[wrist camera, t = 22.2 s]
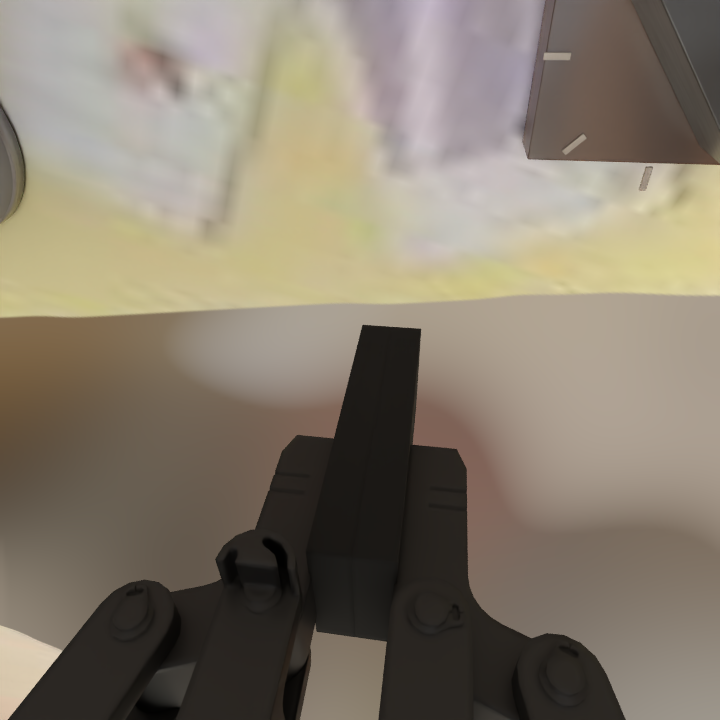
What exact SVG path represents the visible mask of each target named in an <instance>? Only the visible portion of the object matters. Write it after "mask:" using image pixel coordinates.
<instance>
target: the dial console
mask: <svg viewBox="0 0 720 720" xmlns="http://www.w3.org/2000/svg"><path fill="white" fill-rule="evenodd" d="M523 145H524V148H525V152H526V155H527V158H528V159H539V160H573V161H606V162H640V163H674V164H707V165H720V163H719V162H717V161H716V160H715V159H714V158H713V157H712V156H711V155H709V154H708V153H707V152H706V151H705V150H704V149H702V148H701V147H700V145H699V143H698V141H697V139H696V137H695V135H694V133H693V130H692V128H691V126H690V124H689V122H688V120H687V118H686V116H685V113H684V111H683V109H682V107H681V105H680V103H679V101H678V99H677V96H676V94H675V92H674V90H673V88H672V86H671V84H670V82H669V79H668V77H667V75H666V73H665V71H664V69H663V67H662V65H661V62H660V60H659V58H658V56H657V54H656V52H655V50H654V48H653V45H652V43H651V41H650V39H649V37H648V35H647V33H646V31H645V28H644V26H643V24H642V22H641V20H640V18H639V16H638V14H637V11H636V9H635V7H634V5H633V3H632V1H631V0H546V1H545V7H544V13H543V19H542V25H541V31H540V38H539V44H538V50H537V56H536V62H535V68H534V74H533V80H532V87H531V93H530V99H529V105H528V111H527V117H526V123H525V129H524V135H523ZM652 169H653V167H646V168H645V171H644V174H643V178H642V181H641V184H640V187H639V191H646V188H647V185H648V182H649V178H650V175H651V172H652Z"/></svg>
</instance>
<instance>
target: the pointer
mask: <svg viewBox="0 0 720 720" xmlns="http://www.w3.org/2000/svg"><path fill="white" fill-rule="evenodd" d="M631 1H632V3H633V5H634V7H635V9H636V11H637V14H638V16H639V18H640V20H641V22H642V24H643V26H644V28H645V31H646V33H647V35H648V37H649V39H650V41H651V43H652V45H653V48H654V50H655V52H656V54H657V56H658V58H659V60H660V62H661V65H662V67H663V69H664V71H665V73H666V75H667V77H668V79H669V82H670V84H671V86H672V88H673V90H674V92H675V94H676V96H677V99H678V101H679V103H680V105H681V107H682V109H683V111H684V113H685V116H686V118H687V120H688V122H689V124H690V126H691V128H692V130H693V133H694V135H695V137H696V139H697V141H698V143H699V145H700V147H701V148H702V149H704V150H705V151H706V152H707V153H708V154H709V155H711V156H712V157H713V158H714V159H715V160H716V161H717V162H719V163H720V0H631Z"/></svg>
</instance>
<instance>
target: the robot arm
mask: <svg viewBox="0 0 720 720" xmlns="http://www.w3.org/2000/svg"><path fill="white" fill-rule="evenodd" d="M24 179H25V175H24V165H23V159H22V155H21V151H20V147H19V144H18V142H17V139H16V136H15V134H14V131H13V129H12V127H11V125H10V123H9V121H8V119H7V117H6V115H5V114H4V112H3V110H2V109H1V107H0V224H1V223H2V222H4V221H5V220H7V219H8V218H9V217H10V216H11V215H12V214H13V213H14V212H15V210H16V209H17V207H18V205H19V203H20V201H21V198H22V195H23V190H24ZM420 337H421V329H414V328H400V327H386V326H371V325H363V326H362V330H361V333H360V338H359V342H358V345H357V350H356V353H355V357H354V362H353V365H352V369H351V373H350V377H349V382H348V385H347V389H346V393H345V397H344V401H343V405H342V409H341V413H340V417H339V421H338V425H337V429H336V433H335V437H334V439H333V438H321V437H312V436H302V435H297V436H296V437H295V438H294V439H293V440H292V441H291V442H290V443H289V444H288V446H287V447H286V448H285V449H284V450H283V451H282V453H281V456H280V459H279V462H278V465H277V468H276V470H275V475H274V476H273V479H272V482H271V485H270V490H269V491H268V494H267V496H266V499H265V502H264V505H263V508H262V511H261V514H260V517H259V520H258V522H257V526H256V528H255V530H249V531H247V532H244V533H242V534H239V535H237V536H235V537H234V538H233V539H232V540H230V541H229V542H228V543H226V544H225V545H224V546H223V548H222V549H221V551H220V552H219V554H218V556H217V557H216V559H215V560H216V563H217V566H218V569H219V572H220V576H221V578H222V579H220V580H218V581H217V582H214V583H212V584H208V585H204V586H200V587H195V588H189V589H184V590H179V591H174V592H170V591H169V590H168V589H167V588H165V587H164V586H163V585H162V584H160V583H159V582H155V581H149V580H141V581H136V582H131V583H128V584H126V585H124V586H123V587H121V588H119V589H117V590H115V591H114V592H113V593H111V594H110V595H109V596H108V597H107V598H106V599H105V600H104V601H103V602H102V603H101V604H100V605H99V607H98V608H97V609H96V610H95V612H94V613H93V614H92V615H91V617H90V618H89V619H88V620H87V622H86V623H85V624H84V625H83V627H82V628H81V629H80V630H79V632H78V633H77V634H76V635H75V637H74V638H73V639H72V640H71V642H70V643H69V644H68V645H67V647H66V648H65V649H64V650H63V652H62V653H61V654H60V655H59V657H58V658H57V659H56V660H55V662H54V663H53V664H52V665H51V667H50V668H49V669H48V670H47V672H46V673H45V674H44V675H43V677H42V678H41V679H40V680H39V682H38V683H37V684H36V685H35V687H34V688H33V689H32V690H31V692H30V693H29V694H28V695H27V697H26V698H25V699H24V700H23V702H22V703H21V704H20V705H19V707H18V708H17V709H16V710H15V712H14V713H13V714H12V715H11V717H10V718H9V719H8V720H300V716H301V711H302V706H303V701H304V696H305V691H306V686H307V681H308V676H309V671H310V666H311V649H310V645H311V640H312V635H313V630H314V626H315V623H316V630H317V632H324V633H331V634H337V635H344V636H351V637H359V638H366V639H373V640H380V641H387V646H386V655H385V664H384V674H383V684H382V693H381V702H380V711H379V720H626V719H625V717H624V715H623V712H622V710H621V708H620V705H619V703H618V700H617V698H616V696H615V693H614V691H613V689H612V686H611V684H610V682H609V679H608V677H607V675H606V673H605V671H604V669H603V668H602V666H601V664H600V663H599V661H598V660H597V658H596V656H595V655H593V654H592V653H591V652H590V651H589V650H588V649H587V648H586V647H584V646H583V645H582V644H581V643H580V642H577V641H575V640H573V639H571V638H569V637H567V636H565V635H558V634H548V633H547V634H544V635H540V636H538V637H535V638H529V637H527V636H525V635H523V634H521V633H519V632H517V631H515V630H513V629H511V628H509V627H507V626H504V625H502V624H501V623H499V622H497V621H496V620H494V619H493V618H491V617H490V616H489V615H488V614H487V613H486V612H485V611H484V610H482V609H481V607H480V606H479V604H478V603H477V602H476V600H475V599H474V597H473V594H472V592H471V589H470V587H469V580H468V556H467V555H468V553H467V494H466V492H467V475H466V474H467V473H466V472H467V470H466V467H465V465H464V463H463V461H462V459H461V457H460V455H459V453H458V451H457V449H449V448H440V447H429V446H419V445H412V444H413V433H414V423H415V412H416V399H417V383H418V382H417V381H418V367H419V352H420Z"/></svg>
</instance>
